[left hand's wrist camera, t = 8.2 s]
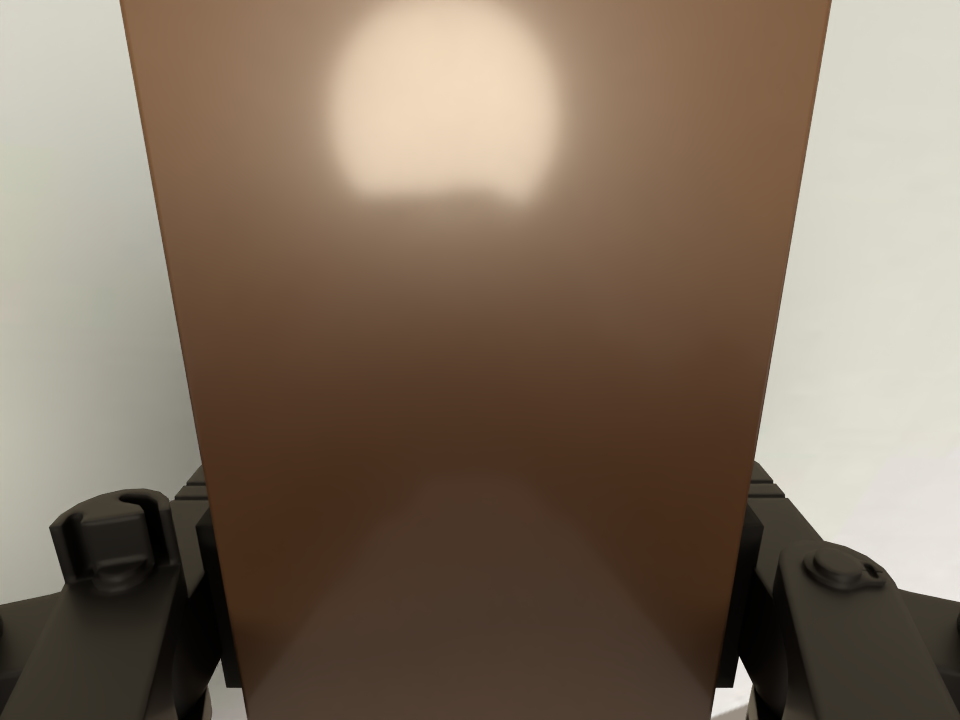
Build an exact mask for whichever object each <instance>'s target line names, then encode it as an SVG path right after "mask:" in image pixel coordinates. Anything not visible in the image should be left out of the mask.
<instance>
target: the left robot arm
mask: <svg viewBox="0 0 960 720" xmlns="http://www.w3.org/2000/svg"><path fill="white" fill-rule="evenodd" d="M49 529H50V533H51V536H52V539H53V543H54V546H55V550H56V553H57V556H58V560H59V563H60V567H61V570H62V573H63V577H64V580H65V585H64V587H63V589H62V591H61V592H58V593H54V594H50V595H46V596H41V597H36V598H31V599H27V600H22V601H17V602H12V603H8V604H3V605H0V720H211V717H212V707H211V700H210V694H209V690H208V683H209V681H210V679H211V677H212V675H213V673H214V671H215V669H216V666H217V664H218V662H219V660H220V658H221V662H222V667H223V672H224V677H225V683H226V688H242V686H241V680H240V675H239V669H238V663H237V658H236V652H235V647H234V641H233V635H232V630H231V624H230V618H229V613H228V607H227V602H226V596H225V590H224V585H223V579H222V573H221V568H220V562H219V557H218V551H217V545H216V540H215V534H214V529H213V523H212V517H211V512H210V506H209V500H208V495H207V489H206V484H205V478H204V472H203V467H202V465H201V466H200V467H199V468H198V469H197V471H196V472H195V473H194V474H193V475H192V477H191V478H190V479H189V480H188V481H187V485H186V486H183V487H182V489H181V490H180V491H179V492H178V493H177V495H176V496H175V500H172V501H171V502H169V499H168V498H167V497H166V496H164V495H163V494H162V493H161V492H158V491H153V490H148V489H125V490H120V491H115V492H111V493H106V494H102V495H99V496H96V497H94V498H91V499H89V500H86V501H84V502H81V503H79V504H77V505H76V506H74V507H72V508H71V509H69V510H67V511H66V512H64V513H63V514H61V515H60V516H59V517H58V518H57V519H56V520H55V521H54V522H53V523H52V525H51V526H50V527H49ZM739 656H740V658H741V660H742V663H743V665H744V667H745V669H746V671H747V673H748V675H749V677H750V679H751V681H752V683H753V685H752V690H751V694H750V699H749V704H748V709H747V714H746V719H745V720H960V602H956V601H952V600H947V599H942V598H937V597H932V596H927V595H923V594H918V593H913V592H909V591H905V590H901V589H898V588H897V586H896V584H895V582H894V581H893V579H892V578H891V577H890V575H889V574H888V573H887V572H886V570H885V569H884V568H883V567H881V566H880V565H878V564H877V563H876V562H874V561H873V560H872V559H870V558H869V557H867V556H866V555H863V554H861V553H859V552H857V551H855V550H852V549H850V548H848V547H846V546H842V545H838V544H834V543H831V542H827V541H824V540H823V539H822V538H821V537H820V536H819V534H818V533H817V532H816V531H815V530H814V529H813V527H812V526H811V525H810V524H809V523H808V521H807V520H806V519H805V518H804V517H803V515H802V514H801V513H800V512H799V511H798V509H797V508H796V507H795V506H794V505H793V503H792V502H791V501H790V500H789V499H788V498H785V494H784V493H783V492H782V490H781V489H780V488H779V487H778V486H777V484H773V480H772V478H771V477H770V476H769V475H768V474H767V472H766V471H765V470H764V469H763V468H762V467H761V465H760V464H759V463H757V462H756V461H754V464H753V470H752V476H751V482H750V488H749V493H748V499H747V505H746V511H745V517H744V523H743V529H742V535H741V541H740V547H739V553H738V559H737V565H736V570H735V576H734V582H733V588H732V594H731V600H730V606H729V612H728V618H727V624H726V630H725V636H724V641H723V647H722V653H721V659H720V665H719V671H718V677H717V683H716V688H733V685H734V680H735V674H736V669H737V664H738V659H739Z"/></svg>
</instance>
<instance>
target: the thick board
mask: <svg viewBox="0 0 960 720" xmlns="http://www.w3.org/2000/svg"><path fill="white" fill-rule="evenodd" d="M831 2H832V0H120V6H121V12H122V17H123V23H124V29H125V34H126V40H127V45H128V51H129V57H130V62H131V68H132V74H133V79H134V85H135V90H136V96H137V102H138V107H139V113H140V118H141V124H142V130H143V135H144V141H145V147H146V152H147V158H148V163H149V169H150V175H151V180H152V186H153V191H154V197H155V203H156V208H157V214H158V220H159V225H160V231H161V236H162V242H163V248H164V253H165V259H166V265H167V270H168V276H169V281H170V287H171V293H172V298H173V304H174V309H175V315H176V321H177V326H178V332H179V338H180V343H181V349H182V354H183V360H184V366H185V371H186V377H187V382H188V388H189V394H190V399H191V405H192V411H193V416H194V422H195V427H196V433H197V439H198V444H199V450H200V456H201V461H202V467H203V472H204V478H205V484H206V489H207V495H208V500H209V506H210V512H211V517H212V523H213V529H214V534H215V540H216V545H217V551H218V557H219V562H220V568H221V573H222V579H223V585H224V590H225V596H226V602H227V607H228V613H229V618H230V624H231V630H232V635H233V641H234V647H235V652H236V658H237V663H238V669H239V675H240V680H241V686H242V691H243V697H244V703H245V708H246V714H247V720H710V718H711V712H712V707H713V701H714V695H715V689H716V683H717V677H718V671H719V665H720V659H721V653H722V647H723V641H724V636H725V630H726V624H727V618H728V612H729V606H730V600H731V594H732V588H733V582H734V576H735V570H736V565H737V559H738V553H739V547H740V541H741V535H742V529H743V523H744V517H745V511H746V505H747V499H748V493H749V488H750V482H751V476H752V470H753V464H754V458H755V452H756V446H757V440H758V434H759V428H760V422H761V417H762V411H763V405H764V399H765V393H766V387H767V381H768V375H769V369H770V363H771V357H772V351H773V346H774V340H775V334H776V328H777V322H778V316H779V310H780V304H781V298H782V292H783V286H784V280H785V274H786V269H787V263H788V257H789V251H790V245H791V239H792V233H793V227H794V221H795V215H796V209H797V203H798V198H799V192H800V186H801V180H802V174H803V168H804V162H805V156H806V150H807V144H808V138H809V132H810V127H811V121H812V115H813V109H814V103H815V97H816V91H817V85H818V79H819V73H820V67H821V61H822V55H823V50H824V44H825V38H826V32H827V26H828V20H829V14H830V8H831Z"/></svg>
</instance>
